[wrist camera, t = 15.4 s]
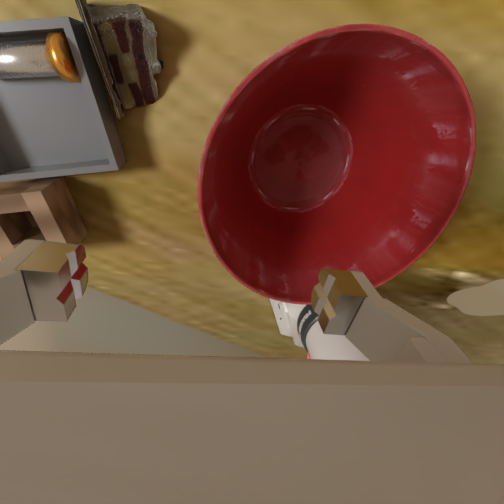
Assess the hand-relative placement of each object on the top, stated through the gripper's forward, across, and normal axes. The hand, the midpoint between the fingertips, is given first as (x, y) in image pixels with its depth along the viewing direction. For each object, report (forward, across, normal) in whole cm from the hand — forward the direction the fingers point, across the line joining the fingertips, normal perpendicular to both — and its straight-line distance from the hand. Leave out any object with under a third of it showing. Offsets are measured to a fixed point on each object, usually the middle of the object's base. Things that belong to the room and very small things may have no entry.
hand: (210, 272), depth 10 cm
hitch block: (+33, +23, +15) cm, 43 cm away
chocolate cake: (+34, +10, -5) cm, 35 cm away
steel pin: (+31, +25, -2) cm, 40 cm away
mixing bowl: (+33, -13, +3) cm, 36 cm away
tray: (+33, +20, +1) cm, 39 cm away
